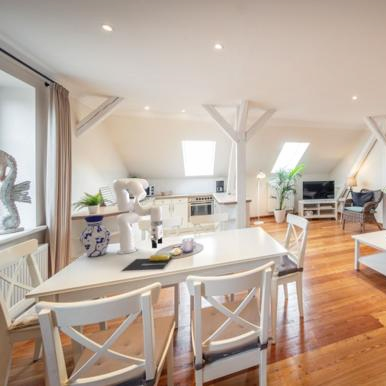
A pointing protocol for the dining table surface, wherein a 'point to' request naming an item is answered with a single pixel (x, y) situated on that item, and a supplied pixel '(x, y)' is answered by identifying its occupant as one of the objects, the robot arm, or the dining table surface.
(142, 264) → the fork
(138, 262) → the place mat
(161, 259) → the banana
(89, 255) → the vase
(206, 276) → the dining table surface
